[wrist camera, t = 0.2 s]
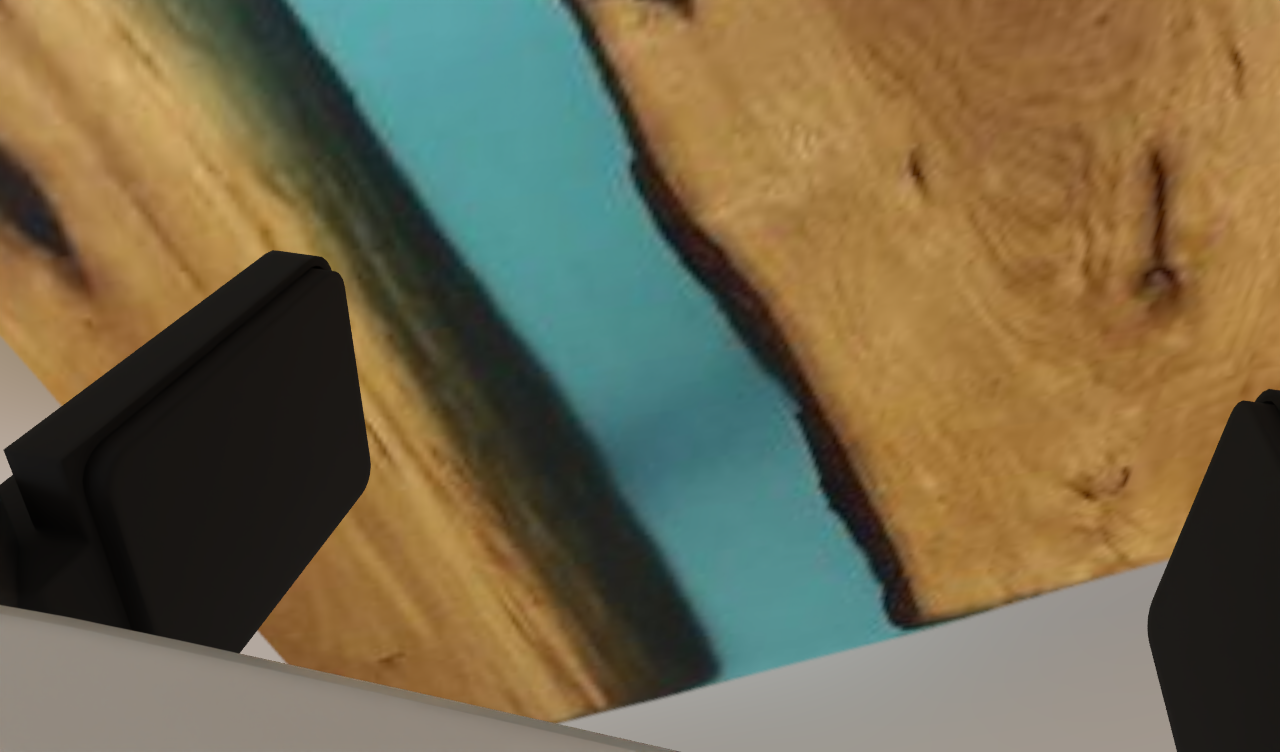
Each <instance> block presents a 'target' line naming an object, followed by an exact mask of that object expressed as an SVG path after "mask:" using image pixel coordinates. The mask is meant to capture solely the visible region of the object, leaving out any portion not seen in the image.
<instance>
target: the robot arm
mask: <svg viewBox="0 0 1280 752" xmlns="http://www.w3.org/2000/svg"><path fill="white" fill-rule="evenodd" d="M4 452H5V455H6V457H7V460H8V463H9V465H10V468H11V470H12V473H13V475H12V476H11V477H9V478H8V479H7V480H6V481H4V482H3V483H2V484H1V485H0V752H679V751H674V750H670V749H666V748H661V747H657V746H653V745H648V744H644V743H639V742H635V741H631V740H626V739H621V738H617V737H612V736H608V735H604V734H600V733H595V732H590V731H586V730H581V729H577V728H573V727H568V726H564V725H560V724H555V723H551V722H546V721H542V720H537V719H533V718H528V717H524V716H519V715H515V714H511V713H506V712H502V711H497V710H493V709H488V708H484V707H479V706H475V705H470V704H466V703H462V702H457V701H453V700H448V699H444V698H439V697H435V696H430V695H426V694H421V693H417V692H412V691H408V690H403V689H399V688H394V687H389V686H385V685H380V684H376V683H371V682H367V681H362V680H358V679H353V678H348V677H344V676H339V675H335V674H330V673H326V672H321V671H316V670H312V669H307V668H303V667H298V666H294V665H289V664H285V663H280V662H275V661H271V660H266V659H262V658H257V657H252V656H247V655H244V654H239V653H240V652H241V651H242V650H243V648H244V647H245V646H246V644H247V643H248V642H249V640H250V639H251V638H252V637H253V635H254V634H255V633H256V631H257V630H258V629H259V627H260V626H261V625H262V623H263V622H264V621H265V620H266V618H267V617H268V616H269V614H270V613H271V612H272V610H273V609H274V608H275V607H276V605H277V604H278V603H279V601H280V600H281V599H282V597H283V596H284V595H285V594H286V592H287V591H288V590H289V588H290V587H291V586H292V584H293V583H294V582H295V580H296V579H297V578H298V577H299V575H300V574H301V573H302V571H303V570H304V569H305V567H306V566H307V565H308V564H309V562H310V561H311V560H312V558H313V557H314V556H315V554H316V553H317V552H318V551H319V549H320V548H321V547H322V545H323V544H324V543H325V541H326V540H327V539H328V537H329V536H330V535H331V534H332V532H333V531H334V530H335V528H336V527H337V526H338V524H339V523H340V522H341V521H342V519H343V518H344V517H345V515H346V514H347V513H348V511H349V510H350V509H351V508H352V506H353V505H354V504H355V502H356V501H357V500H358V498H359V497H360V496H361V495H362V493H363V491H364V490H365V488H366V485H367V483H368V480H369V476H370V468H371V463H370V454H369V447H368V441H367V434H366V427H365V420H364V414H363V407H362V400H361V393H360V387H359V380H358V373H357V366H356V359H355V353H354V346H353V339H352V332H351V326H350V319H349V312H348V305H347V299H346V292H345V286H344V282H343V279H342V277H341V275H340V274H339V273H337V272H335V271H332V270H331V267H330V266H329V264H328V262H327V261H326V260H325V259H324V258H322V257H319V256H312V255H304V254H297V253H290V252H283V251H274V250H273V251H270V252H268V253H266V254H265V255H263V256H262V257H261V258H259V259H258V260H257V261H255V262H254V263H253V264H251V265H250V266H249V267H247V268H246V269H245V270H243V271H242V272H241V273H239V274H238V275H237V276H235V277H234V278H233V279H231V280H230V281H229V282H227V283H226V284H225V285H223V286H222V287H221V288H219V289H218V290H217V291H215V292H214V293H213V294H211V295H210V296H209V297H207V298H206V299H205V300H203V301H202V302H201V303H199V304H198V305H197V306H195V307H194V308H193V309H191V310H190V311H189V312H187V313H186V314H185V315H183V316H182V317H180V318H179V319H178V320H176V321H175V322H174V323H172V324H171V325H170V326H168V327H167V328H166V329H164V330H163V331H162V332H160V333H159V334H158V335H156V336H155V337H154V338H152V339H151V340H150V341H148V342H147V343H146V344H144V345H143V346H142V347H140V348H139V349H138V350H136V351H135V352H134V353H132V354H131V355H130V356H128V357H127V358H126V359H124V360H123V361H122V362H120V363H119V364H118V365H116V366H115V367H114V368H112V369H111V370H110V371H108V372H107V373H106V374H104V375H103V376H102V377H100V378H99V379H98V380H96V381H95V382H94V383H92V384H91V385H90V386H88V387H87V388H86V389H84V390H83V391H82V392H80V393H79V394H78V395H76V396H75V397H74V398H72V399H71V400H70V401H68V402H67V403H66V404H64V405H63V406H62V407H60V408H59V409H58V410H56V411H55V412H53V413H52V414H51V415H49V416H48V417H47V418H45V419H44V420H43V421H42V422H40V423H39V424H38V425H36V426H35V427H33V428H32V429H31V430H30V431H28V432H27V433H25V434H24V435H23V436H22V437H20V438H19V439H17V440H16V441H15V442H13V443H12V444H11V445H9V446H8V447H7V448H5V449H4ZM1148 638H1149V643H1150V647H1151V651H1152V655H1153V659H1154V663H1155V666H1156V671H1157V675H1158V679H1159V682H1160V686H1161V690H1162V694H1163V698H1164V702H1165V706H1166V710H1167V714H1168V717H1169V722H1170V726H1171V730H1172V733H1173V737H1174V741H1175V745H1176V749H1177V752H1280V391H1279V390H1272V389H1268V390H1266V391H1264V392H1262V393H1261V395H1260V396H1259V397H1258V398H1257V399H1256V401H1255V402H1250V401H1241V402H1239V403H1238V404H1237V405H1236V406H1235V407H1234V409H1233V411H1232V413H1231V415H1230V417H1229V419H1228V422H1227V424H1226V426H1225V429H1224V431H1223V434H1222V436H1221V438H1220V441H1219V443H1218V445H1217V448H1216V450H1215V453H1214V455H1213V457H1212V460H1211V462H1210V464H1209V467H1208V469H1207V472H1206V474H1205V476H1204V479H1203V481H1202V484H1201V486H1200V488H1199V491H1198V493H1197V495H1196V498H1195V500H1194V503H1193V505H1192V507H1191V510H1190V512H1189V514H1188V517H1187V519H1186V522H1185V524H1184V526H1183V529H1182V531H1181V533H1180V536H1179V538H1178V541H1177V543H1176V545H1175V548H1174V550H1173V552H1172V555H1171V557H1170V560H1169V562H1168V564H1167V567H1166V569H1165V571H1164V574H1163V576H1162V579H1161V581H1160V583H1159V586H1158V588H1157V590H1156V593H1155V595H1154V598H1153V600H1152V603H1151V606H1150V610H1149V615H1148Z"/></svg>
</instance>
